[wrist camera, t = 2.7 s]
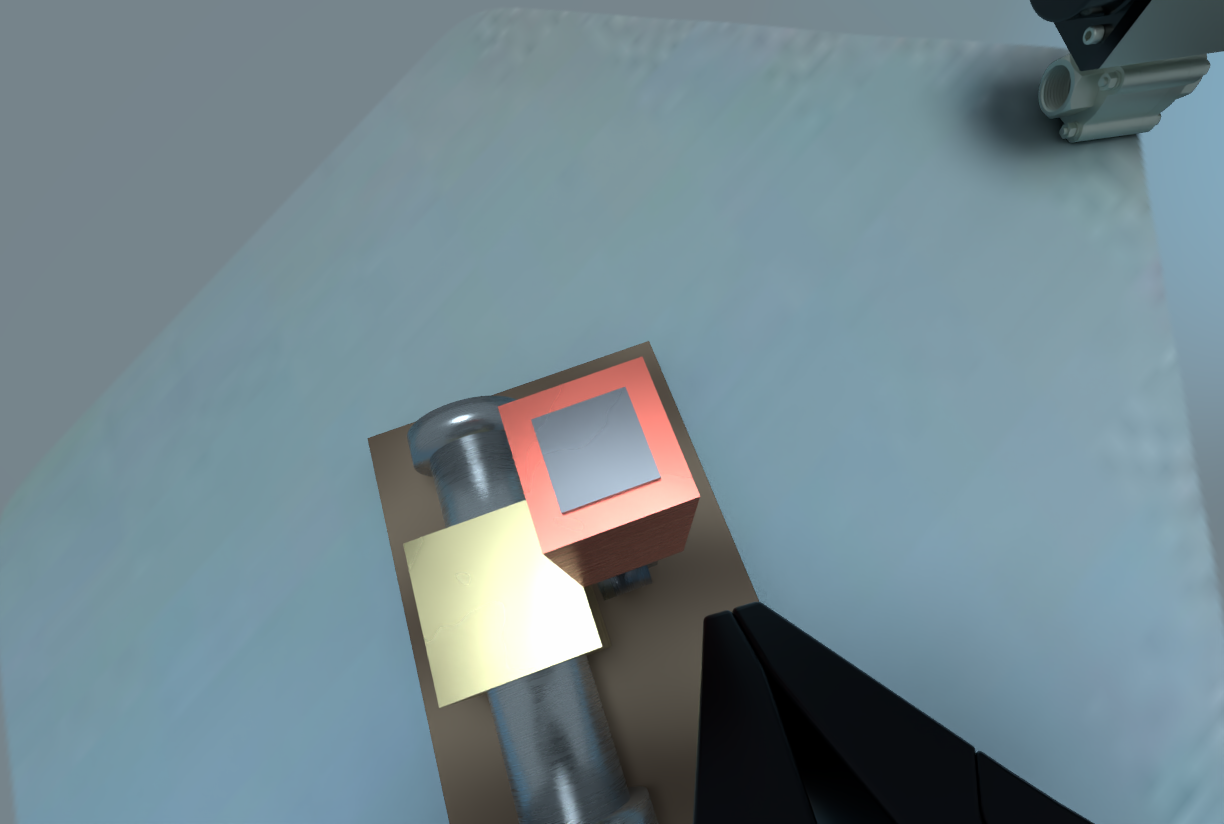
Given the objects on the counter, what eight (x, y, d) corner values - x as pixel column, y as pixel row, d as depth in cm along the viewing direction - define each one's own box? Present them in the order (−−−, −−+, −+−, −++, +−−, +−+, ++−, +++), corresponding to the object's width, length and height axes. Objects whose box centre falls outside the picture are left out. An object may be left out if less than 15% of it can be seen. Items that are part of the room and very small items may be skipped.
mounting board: (835, 799, 19) (847, 808, 17) (489, 938, 18) (477, 957, 17) (649, 354, 24) (648, 341, 23) (381, 448, 24) (367, 438, 22)
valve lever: (675, 578, 18) (700, 494, 8) (604, 604, 18) (541, 552, 8) (648, 508, 19) (641, 353, 9) (580, 532, 19) (495, 404, 9)
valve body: (666, 810, 18) (670, 856, 14) (525, 865, 18) (488, 929, 14) (539, 423, 23) (515, 376, 19) (426, 463, 23) (376, 424, 19)
